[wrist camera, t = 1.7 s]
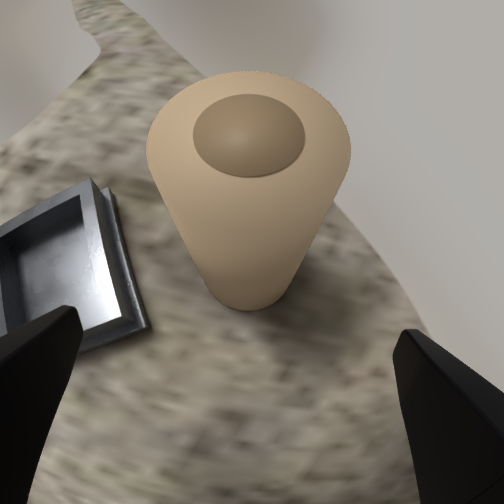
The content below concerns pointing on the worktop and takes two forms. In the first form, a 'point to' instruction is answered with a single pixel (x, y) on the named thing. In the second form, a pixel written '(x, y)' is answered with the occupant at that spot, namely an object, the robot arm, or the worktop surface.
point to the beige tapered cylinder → (248, 178)
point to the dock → (70, 266)
